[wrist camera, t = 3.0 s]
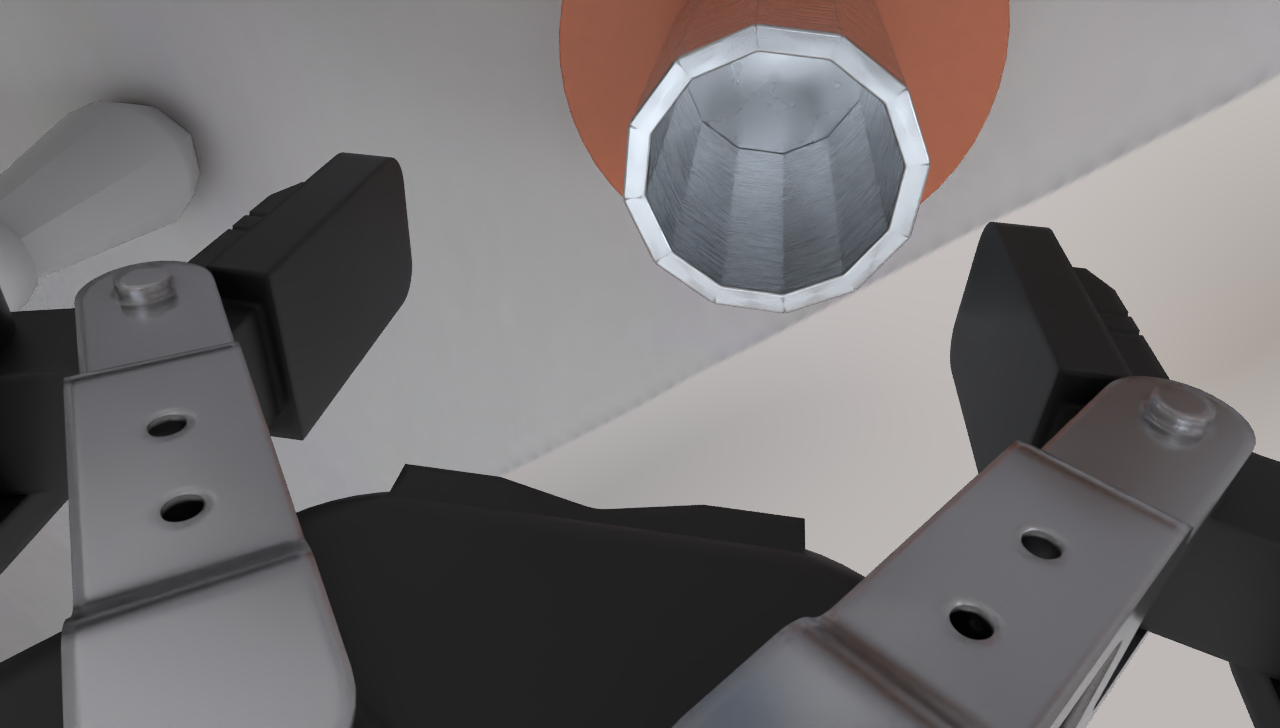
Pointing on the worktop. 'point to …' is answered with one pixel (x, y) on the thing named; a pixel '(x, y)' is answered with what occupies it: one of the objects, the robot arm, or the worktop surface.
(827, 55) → the steel cup
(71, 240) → the salt shaker
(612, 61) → the terracotta flower pot
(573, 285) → the worktop surface
